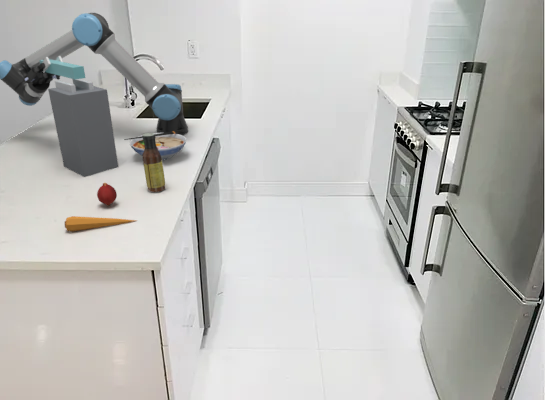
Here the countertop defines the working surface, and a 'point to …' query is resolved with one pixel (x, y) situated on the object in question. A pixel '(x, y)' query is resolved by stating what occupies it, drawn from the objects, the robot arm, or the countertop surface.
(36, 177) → the countertop surface
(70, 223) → the carrot
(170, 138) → the ramen bowl
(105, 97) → the block
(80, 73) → the teal rectangular bar
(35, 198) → the countertop surface
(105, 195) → the onion
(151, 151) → the sauce bottle
